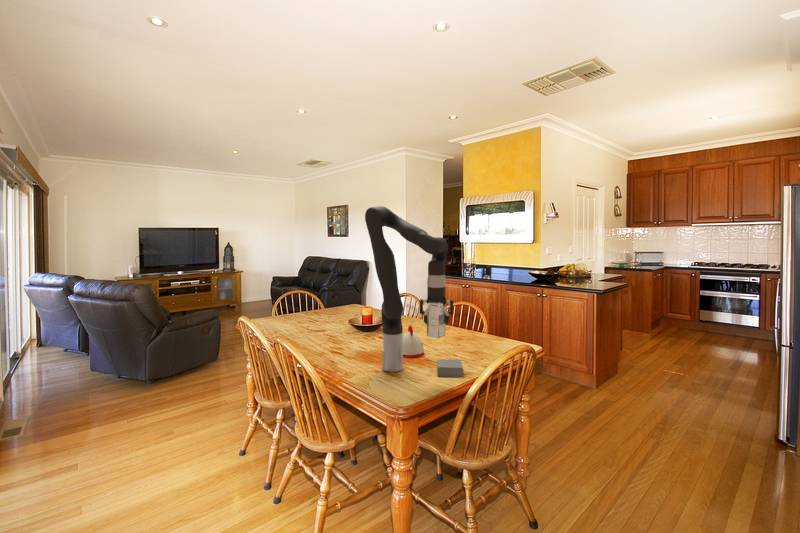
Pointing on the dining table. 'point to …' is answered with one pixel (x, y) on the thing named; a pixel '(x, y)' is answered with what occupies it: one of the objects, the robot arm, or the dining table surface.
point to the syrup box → (436, 320)
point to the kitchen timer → (412, 345)
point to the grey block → (449, 367)
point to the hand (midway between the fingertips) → (436, 324)
